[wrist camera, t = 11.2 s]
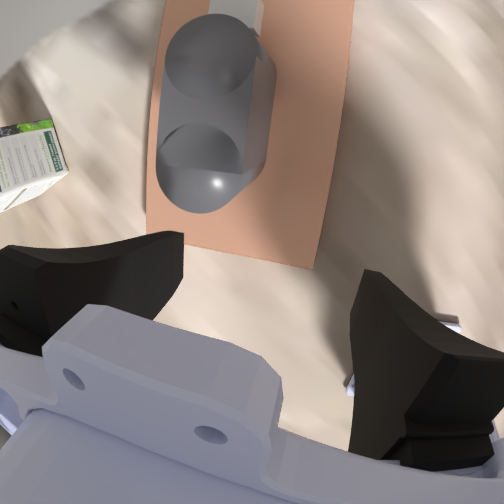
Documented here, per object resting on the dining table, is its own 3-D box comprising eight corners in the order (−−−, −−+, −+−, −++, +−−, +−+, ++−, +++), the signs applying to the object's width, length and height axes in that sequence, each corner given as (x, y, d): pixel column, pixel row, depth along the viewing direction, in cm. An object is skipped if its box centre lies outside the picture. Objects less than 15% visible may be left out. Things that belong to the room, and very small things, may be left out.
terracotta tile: (313, 260, 21) (312, 269, 20) (156, 229, 23) (146, 236, 21) (352, 5, 14) (354, -3, 12) (177, -1, 15) (167, -8, 14)
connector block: (261, 191, 18) (237, 220, 13) (200, 182, 19) (154, 206, 14) (283, 19, 14) (267, -23, 8) (219, 17, 14) (178, -19, 9)
